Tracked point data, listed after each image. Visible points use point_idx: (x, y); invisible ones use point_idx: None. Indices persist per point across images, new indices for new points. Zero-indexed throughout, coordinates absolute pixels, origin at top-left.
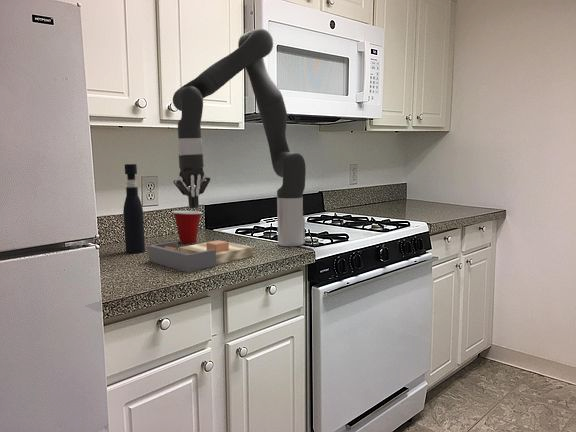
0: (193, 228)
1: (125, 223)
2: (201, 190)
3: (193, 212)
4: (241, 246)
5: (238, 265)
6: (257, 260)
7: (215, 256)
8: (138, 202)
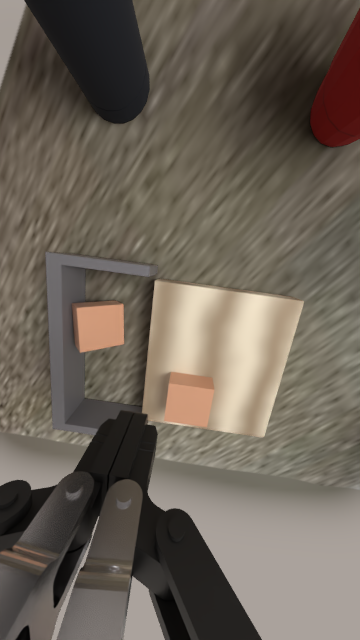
0: None
1: None
2: (158, 601)
3: None
4: (256, 412)
5: (172, 441)
6: (227, 447)
7: None
8: None
